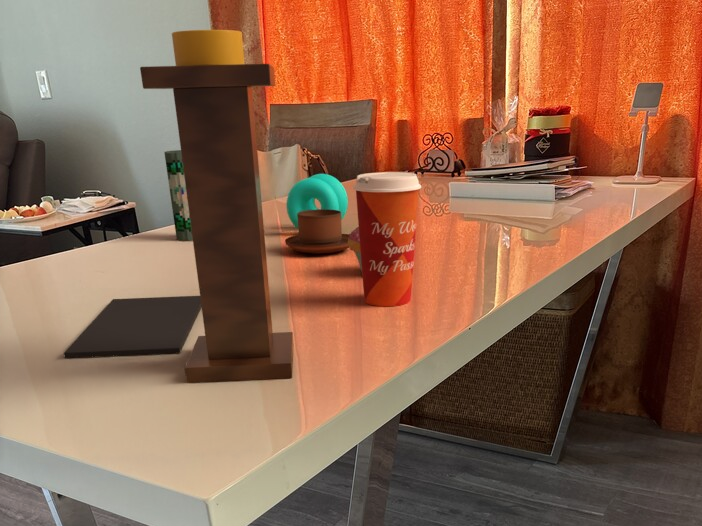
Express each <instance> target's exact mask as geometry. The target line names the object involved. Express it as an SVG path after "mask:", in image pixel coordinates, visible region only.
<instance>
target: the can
mask: <svg viewBox="0 0 702 526" xmlns="http://www.w3.org/2000/svg"><path fill="white" fill-rule="evenodd" d="M163 152H164V159H165V166H166V174H167V181H168V188H169V194H170V204H171V209H172V217H173V223H174V230H175V237H176V238H175V239H176V241H182V242H193V238H192V230H191V222H190V215H189V207H188V200H187V192H186V184H185V177H184V169H183V161H182V154H181V149H175V150H166V151H163Z"/></svg>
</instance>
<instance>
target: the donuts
mask: <svg viewBox="0 0 702 526" xmlns="http://www.w3.org/2000/svg"><path fill="white" fill-rule="evenodd" d="M348 199H349V198H348V194H347V190H346V189H345V187H344V185H343V184H342V182H341V181H340V180H338V178H337V177H335V176H332V175H330V174H327V173H317V174H313V175H311V176H309V177H306V178H303V179H301V180H299V181H298V182H296V183H294V185H293V186H292V187H291V188H290V190H289V192H288V194H287V198H286V211H287V215H288V218H289V221H290V222H291V224H292V225H293V226H294V227H295V228H296V229H297V230H298V217H297V213H298V212H301V211H307V210H318V209H319V208H318V207H317V205H316V201H315V200H317V202H319V205H320V209H329V210H338V211H341V221H342V220H343V219H344V218H345V216H346V214H347V211H348V206H349V200H348Z"/></svg>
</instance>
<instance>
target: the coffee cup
mask: <svg viewBox="0 0 702 526" xmlns="http://www.w3.org/2000/svg"><path fill="white" fill-rule="evenodd" d="M352 189H353V190H354V191H355V194H356V195H355V196H356V197H355V198H356V211H357V223H358V226H359V238H360V252H361V265H362V271H361V274H362V275H361V277H362V286H363V287H362V288H363V296H364V302H365V303H366V304H367V305H371V306H375V307H376V306H377V307H397V306H403V305H407V304H408V303H410V302H411V297H412V289H413V276H414V262H415V251H416V235H417V222H418V221H417V220H418V219H417V218H418V205H419V190H420V189H422V185H421V184H420V181H419V178H418V176H417V174H416V173H413V172H403V171H384V172H368V173H361V174H358V175H356V180H355V185H353V188H352Z"/></svg>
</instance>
